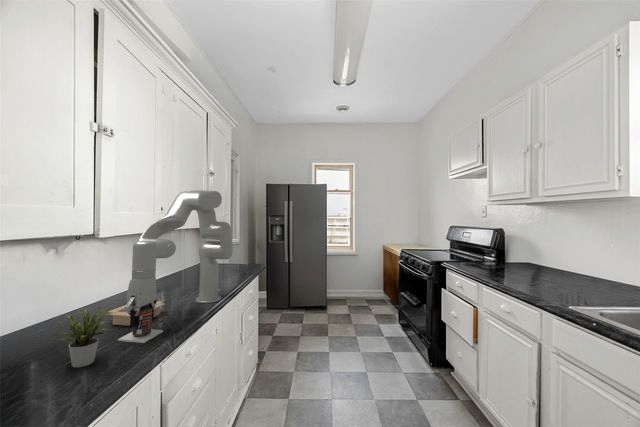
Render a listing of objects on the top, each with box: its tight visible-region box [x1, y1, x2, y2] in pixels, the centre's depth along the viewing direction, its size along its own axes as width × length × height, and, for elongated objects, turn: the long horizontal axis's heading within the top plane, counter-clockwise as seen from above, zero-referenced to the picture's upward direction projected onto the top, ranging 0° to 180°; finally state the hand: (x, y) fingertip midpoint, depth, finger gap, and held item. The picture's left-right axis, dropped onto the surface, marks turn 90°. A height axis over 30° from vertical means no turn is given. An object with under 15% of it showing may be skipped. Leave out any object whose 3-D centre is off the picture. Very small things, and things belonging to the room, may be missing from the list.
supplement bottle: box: [132, 303, 153, 337], centre depth 105 cm, size 6×6×11 cm
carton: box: [107, 300, 166, 327], centre depth 121 cm, size 19×15×5 cm
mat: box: [117, 328, 164, 344], centre depth 105 cm, size 10×10×1 cm
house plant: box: [58, 306, 116, 368], centre depth 86 cm, size 14×14×16 cm
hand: (142, 322), depth 105 cm, fingers open, 6 cm apart
